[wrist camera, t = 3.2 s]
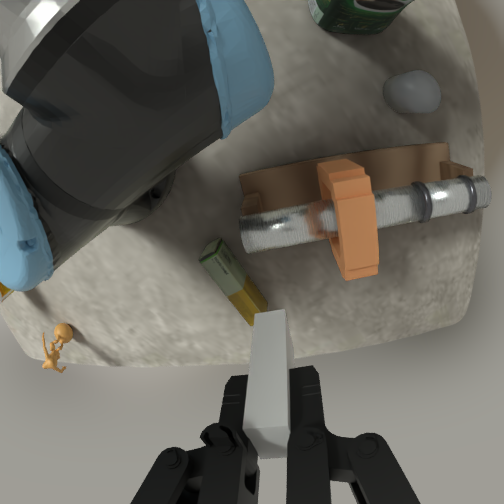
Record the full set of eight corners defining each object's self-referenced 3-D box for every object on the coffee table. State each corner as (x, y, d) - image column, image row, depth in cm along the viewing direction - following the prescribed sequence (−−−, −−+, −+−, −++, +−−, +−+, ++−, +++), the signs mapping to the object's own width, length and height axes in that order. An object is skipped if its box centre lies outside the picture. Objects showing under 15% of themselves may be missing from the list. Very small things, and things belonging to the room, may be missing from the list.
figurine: (53, 310, 46) (19, 348, 35) (72, 309, 45) (38, 350, 34) (71, 342, 49) (43, 381, 38) (91, 343, 49) (63, 386, 38)
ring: (329, 243, 33) (347, 288, 24) (314, 161, 29) (333, 177, 20) (353, 239, 32) (379, 281, 23) (342, 156, 28) (371, 171, 20)
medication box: (204, 245, 38) (196, 259, 35) (220, 235, 37) (214, 249, 34) (253, 310, 42) (250, 328, 38) (269, 303, 41) (267, 320, 38)
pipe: (251, 245, 30) (248, 264, 27) (241, 208, 29) (236, 222, 25) (472, 203, 26) (492, 215, 22) (471, 169, 24) (492, 177, 21)
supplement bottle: (9, 254, 42) (-24, 278, 32) (26, 271, 43) (-7, 299, 34) (6, 272, 44) (-24, 297, 34) (22, 288, 45) (-7, 316, 36)
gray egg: (387, 114, 29) (408, 114, 24) (379, 77, 27) (398, 69, 22) (420, 112, 28) (444, 112, 23) (412, 76, 26) (436, 70, 21)
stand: (257, 243, 37) (254, 267, 31) (240, 174, 34) (232, 186, 28) (447, 206, 33) (473, 223, 27) (443, 142, 29) (472, 148, 23)
